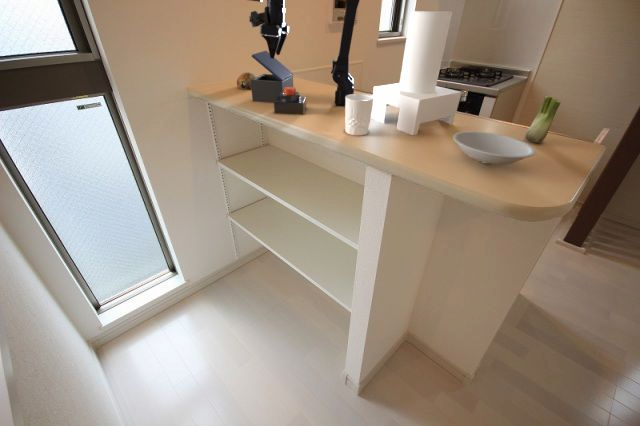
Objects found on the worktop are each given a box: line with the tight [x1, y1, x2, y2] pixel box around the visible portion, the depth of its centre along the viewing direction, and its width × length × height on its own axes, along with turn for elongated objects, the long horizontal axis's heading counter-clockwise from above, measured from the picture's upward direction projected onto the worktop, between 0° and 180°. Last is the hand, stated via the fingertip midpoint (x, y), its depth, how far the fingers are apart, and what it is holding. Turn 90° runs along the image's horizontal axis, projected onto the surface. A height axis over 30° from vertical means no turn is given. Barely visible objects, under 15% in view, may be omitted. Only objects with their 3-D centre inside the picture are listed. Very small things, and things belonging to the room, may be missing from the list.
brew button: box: [284, 86, 297, 95], centre depth 102 cm, size 4×4×2 cm
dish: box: [452, 130, 536, 165], centre depth 71 cm, size 18×14×5 cm
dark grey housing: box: [250, 73, 294, 104], centre depth 118 cm, size 13×13×8 cm
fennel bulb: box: [524, 95, 561, 144], centre depth 81 cm, size 6×5×12 cm
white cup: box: [344, 93, 374, 137], centre depth 87 cm, size 8×8×10 cm
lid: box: [251, 50, 294, 81], centre depth 113 cm, size 13×13×1 cm
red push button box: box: [273, 91, 307, 115], centre depth 105 cm, size 10×8×6 cm
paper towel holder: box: [370, 10, 462, 136], centre depth 90 cm, size 19×19×30 cm
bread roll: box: [236, 71, 257, 91], centre depth 135 cm, size 10×10×8 cm
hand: (275, 56), depth 107 cm, fingers open, 9 cm apart
